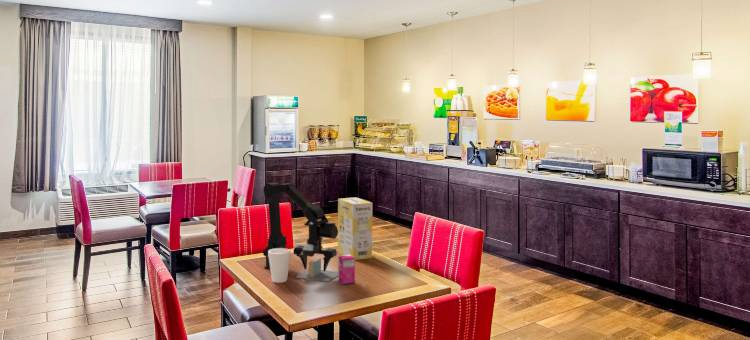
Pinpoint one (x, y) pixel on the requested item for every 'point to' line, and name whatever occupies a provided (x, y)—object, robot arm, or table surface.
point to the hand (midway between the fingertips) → (315, 270)
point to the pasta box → (355, 227)
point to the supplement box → (346, 269)
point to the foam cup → (279, 264)
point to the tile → (314, 267)
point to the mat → (319, 276)
